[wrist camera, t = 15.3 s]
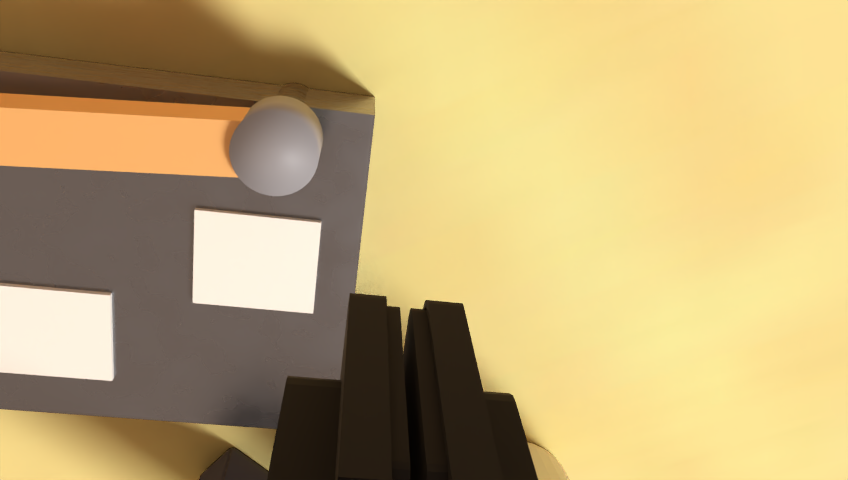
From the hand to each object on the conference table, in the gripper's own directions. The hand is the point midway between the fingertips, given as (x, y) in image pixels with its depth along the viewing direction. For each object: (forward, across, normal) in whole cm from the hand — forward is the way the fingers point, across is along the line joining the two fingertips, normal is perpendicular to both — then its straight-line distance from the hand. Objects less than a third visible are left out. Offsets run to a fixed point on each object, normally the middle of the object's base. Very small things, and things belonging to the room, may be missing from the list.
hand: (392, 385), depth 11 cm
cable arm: (+23, +12, +3) cm, 26 cm away
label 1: (+25, +15, +15) cm, 33 cm away
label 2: (+25, +5, +10) cm, 27 cm away
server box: (+29, +11, +11) cm, 33 cm away
